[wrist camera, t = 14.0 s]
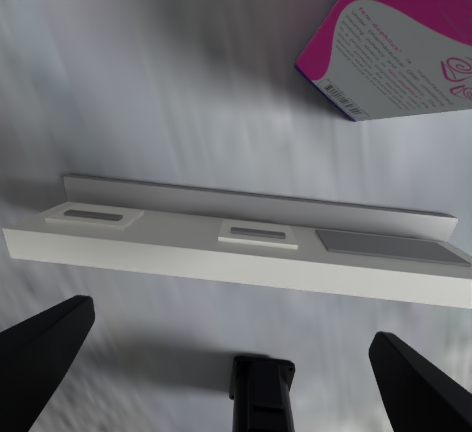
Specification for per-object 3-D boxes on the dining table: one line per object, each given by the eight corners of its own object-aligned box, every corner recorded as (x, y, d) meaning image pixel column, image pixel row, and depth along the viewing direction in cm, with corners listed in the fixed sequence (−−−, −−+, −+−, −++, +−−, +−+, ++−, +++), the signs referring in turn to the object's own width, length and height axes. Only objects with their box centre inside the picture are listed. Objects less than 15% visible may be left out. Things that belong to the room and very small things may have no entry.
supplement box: (426, 41, 14) (969, -218, 4) (352, 124, 16) (560, 118, 5) (361, -32, 13) (853, -723, 2) (290, 65, 15) (394, -87, 4)
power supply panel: (420, 278, 20) (486, 336, 15) (81, 241, 20) (19, 284, 15) (449, 214, 18) (541, 254, 12) (70, 174, 18) (-8, 195, 13)
